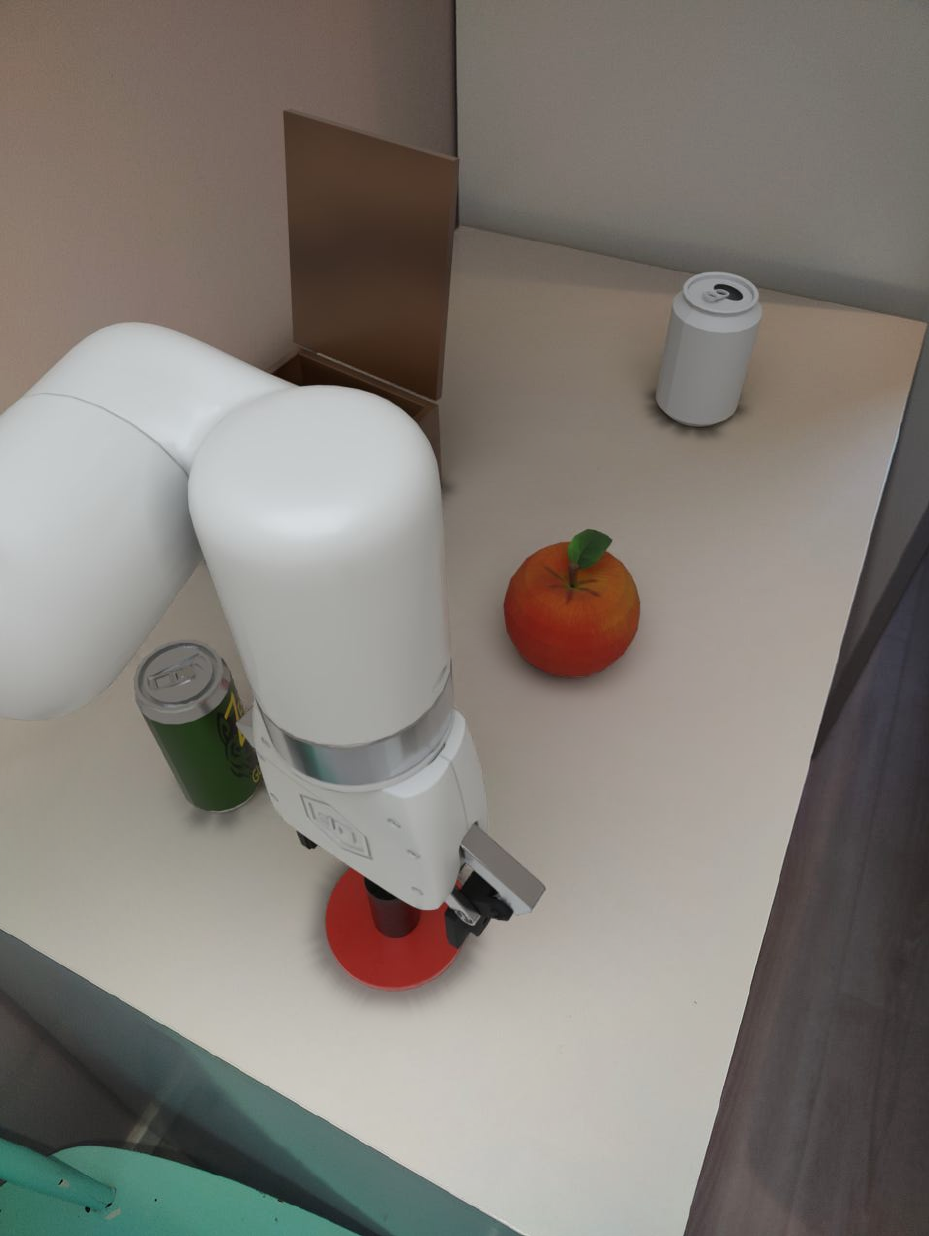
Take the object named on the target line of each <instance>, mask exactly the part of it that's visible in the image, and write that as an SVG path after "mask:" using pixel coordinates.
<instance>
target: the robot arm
mask: <svg viewBox="0 0 929 1236" xmlns="http://www.w3.org/2000/svg"><path fill="white" fill-rule="evenodd" d="M442 497H443V495H442V489H441V485H440V478H439V470H438V465H437V460H436V457H435V455H434V452H433V449H432V446H431V444H430V442H429V440H428V439H427V437H426V436H425V434H424V433H423V431H422V430H421V428H420V427H419V425H418V424H417V423H416V422H415V421H414V420H413V419H412V418H411V417H410V416H409V415H408V414H407V413H406V412H405V411H403V410H402V409H401V408H399V407H398V406H396V405H395V404H393V403H392V402H390V401H389V400H387V399H384V398H382V397H380V396H378V395H375V394H373V393H369V392H366V391H362V390H359V389H354V388H347V387H341V386H329V385H314V386H301V387H300V386H297V385H295V384H292V383H290V382H288V381H285V380H283V379H280V378H278V377H276V376H273V375H271V374H269V373H266V372H264V370H263V369H260V368H258V367H256V366H254V365H252V364H249V363H247V362H246V361H244V360H241V359H240V358H238V357H235V356H233V355H231V354H229V353H227V352H225V351H223V350H221V349H219V348H216V347H215V346H212V345H210V344H208V343H206V342H204V341H202V340H199V339H197V338H195V337H193V336H190V335H188V334H185V333H183V332H180V331H178V330H175V329H172V328H168V327H166V326H161V325H158V324H154V323H148V322H139V321H129V322H127V321H126V322H125V321H124V322H118V323H114V324H112V325H108V326H105V327H102V328H99V329H98V330H96V331H94V332H92V333H90V334H89V335H88V336H86V337H84V338H83V339H82V340H81V341H80V342H78V343H77V344H76V345H74V346H73V347H72V348H71V349H70V350H69V351H68V352H67V353H66V354H65V355H63V356H62V357H61V358H60V359H59V360H58V361H57V362H56V363H55V364H54V365H53V366H52V367H51V368H50V369H49V370H48V371H47V372H46V373H45V374H44V375H43V376H42V377H41V378H40V379H39V380H38V381H37V382H35V384H34V385H32V386H31V388H29V390H28V391H27V392H26V393H24V394H23V395H22V396H21V397H20V398H19V399H18V400H17V401H15V402H14V403H13V404H11V405H10V406H9V407H7V409H6V410H5V411H3V412H2V413H1V414H0V718H2V719H7V720H8V719H9V720H15V721H22V722H42V721H49V720H53V719H58V718H62V717H65V716H68V715H71V714H73V713H76V712H79V710H81V709H83V708H85V707H87V705H89V704H91V703H92V702H93V701H95V700H96V699H97V698H98V697H100V696H101V695H102V694H103V693H104V692H105V691H106V690H107V689H109V688H110V687H111V686H112V685H113V683H114V682H115V681H116V680H117V678H118V677H119V676H120V675H121V674H122V673H123V671H124V670H125V668H126V667H127V666H128V665H129V664H130V662H131V661H132V659H134V657H135V656H136V654H137V653H138V651H139V650H140V649H141V647H142V646H143V644H144V643H145V641H146V640H147V639H148V637H149V636H150V634H151V633H152V631H154V629H155V628H156V626H157V625H158V623H159V622H160V621H161V619H162V618H163V616H164V615H165V614H166V612H167V611H168V609H169V608H170V606H171V605H172V604H173V602H174V600H175V599H176V598H177V597H178V595H179V594H180V592H181V591H182V589H183V588H184V587H185V585H186V584H187V583H188V581H189V579H190V578H191V577H192V575H193V574H194V572H195V571H196V569H197V568H198V567H199V566H200V563H202V562H205V563H206V566H207V569H208V572H209V575H210V577H211V580H212V584H213V586H214V589H215V592H216V594H217V597H218V599H219V602H220V605H221V608H222V611H223V614H224V616H225V619H226V622H227V625H228V627H229V630H230V634H231V636H232V639H233V642H234V644H235V647H236V649H237V652H238V655H239V658H240V661H241V664H242V666H243V669H244V672H245V674H246V677H247V680H248V683H249V686H250V688H251V691H252V695H253V701H252V702H253V703H252V706H250V708H249V709H248V710H247V711H245V714H244V715H243V716H242V717H241V718H240V719H239V720H238V721H237V722H236V726H237V728H238V729H239V730H240V732H241V733H242V734H243V736H244V737H245V738H246V739H247V741H248V742H249V743H250V745H251V746H252V747H253V748H255V749H256V753H257V754H256V756H255V757H256V759H257V761H258V762H257V764H258V765H259V766H260V769H261V772H262V779H263V782H264V785H265V788H266V791H267V794H268V797H269V799H270V801H271V804H272V806H273V808H274V810H275V813H277V814H278V816H279V817H280V818H281V819H282V820H284V821H285V822H286V824H288V825H289V826H290V827H292V828H293V829H294V830H295V832H296V834H297V836H298V840H299V842H300V844H301V845H302V846H303V847H304V848H306V849H307V850H315V849H316V848H317V847H318V846H319V847H320V848H322V849H323V850H325V851H326V852H327V853H329V854H330V855H332V856H333V857H334V858H336V859H338V860H339V861H341V862H343V863H344V864H345V865H347V866H348V867H350V868H353V869H354V870H356V871H357V872H359V873H360V874H362V875H363V876H365V877H366V878H368V879H369V880H371V881H373V882H374V883H376V884H377V885H379V886H380V887H382V888H383V889H385V890H386V891H388V892H389V893H391V894H393V895H394V896H396V897H397V898H399V899H401V900H402V901H404V902H406V903H407V904H409V905H411V906H413V907H416V908H418V909H422V910H435V909H438V908H439V907H440V906H441V905H442V903H443V902H444V901H445V903H446V904H447V905H448V907H447V909H446V911H445V913H444V917H445V926H446V935H447V939H448V941H449V944H450V945H452V946H453V947H455V948H456V949H459V948H460V946H461V945H462V946H463V944H464V942H465V941H466V940H467V938H468V936H469V935H470V934H472V935H474V936H475V937H477V938H478V937H480V936H481V935H482V934H483V932H484V931H485V929H486V928H487V927H488V925H489V923H490V921H491V920H492V919H493V920H497V921H499V922H500V921H503V922H509V921H510V919H511V918H512V917H513V916H514V915H515V916H517V917H518V916H523V915H527V914H531V913H532V912H533V911H534V909H535V908H536V906H537V905H538V903H539V901H540V900H541V898H542V897H543V895H544V894H545V892H546V890H547V888H546V886H545V884H544V883H543V882H542V881H541V880H540V879H539V878H537V877H536V876H535V875H534V874H533V873H532V872H530V871H529V869H527V868H526V867H525V866H524V865H523V864H521V863H520V861H518V860H517V859H516V858H515V857H514V856H512V855H511V853H509V852H508V851H507V850H506V849H504V848H503V847H502V846H501V845H500V844H499V843H497V841H495V840H494V839H493V838H492V837H491V836H490V835H489V834H488V833H489V809H488V798H487V790H486V785H485V779H484V774H483V768H482V765H481V762H480V758H479V754H478V750H477V748H476V744H475V742H474V738H473V736H472V733H471V730H470V728H469V726H468V723H467V720H466V718H465V716H464V715H463V713H461V712H460V711H459V710H458V709H457V708H456V707H455V691H454V677H453V675H454V674H453V660H452V643H451V642H452V641H451V628H450V627H451V626H450V609H449V596H448V595H449V594H448V578H447V563H446V561H447V560H446V549H445V547H446V545H445V531H444V530H445V529H444V515H443V498H442ZM465 866H468V867H469V868H470V869H472V872H471V873H470V874H469V876H468V878H467V879H466V880H465V882H464V883H463V885H461V889H459V887H458V886H457V885H456V884H455V883H456V881H457V880H458V877H459V875H460V873H461V872H462V871H463V869H464V867H465Z"/></svg>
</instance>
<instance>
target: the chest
mask: <svg viewBox="0 0 929 1236" xmlns="http://www.w3.org/2000/svg"><path fill="white" fill-rule="evenodd" d="M263 371H264V372H266V373H269V374H271V375H273V376H276V377H278V378H280V379H283V380H285V381H288V382H290V383H292V384H295V385H297V386H300V387H301V386H314V385H329V386H341V387H347V388H354V389H359V390H362V391H366V392H369V393H373V394H375V395H378V396H380V397H382V398H384V399H387V400H389V401H390V402H392V403H393V404H395V405H396V406H398V407H399V408H401V409H402V410H403V411H405V412H406V413H407V414H408V415H409V416H410V417H411V418H412V419H413V420H414V421H415V422H416V423H417V424H418V425H419V427H420V428H421V430H422V431H423V433H424V434H425V436H426V437H427V439H428V440H429V442H430V444H431V446H432V449H433V452H434V455H435V457H436V460H437V465H438V470H439V478H440V485H441V490H442V489H443V480H442V479H443V478H442V454H441V430H440V429H441V428H440V427H441V426H440V407H439V404H438V403H435V402H433V401H430V400H429V399H425V398H423V397H421V396H418V395H416V394H413V393H411V392H409V391H406V390H405V389H404V390H403V389H401V388H399V387H396V386H394V385H392V384H389V383H386V382H384V381H382V380H379V379H377V378H376V377H373V376H370V375H369V374H368V375H367V374H365V373H363V372H361V371H358V370H356V369H354V368H351V367H349V366H346V365H345V364H343V363H342V364H341V363H339V362H337V361H334V360H332V359H331V358H330V359H329V358H327V357H325V356H322V355H320V354H318V353H315V352H314V351H313V352H312V351H310V350H308V349H305V348H304V347H301V346H299V345H297V346H295V347H294V348H293V349H292V350H289V351H288V352H287V353H286V354H284V355H283V356H282V357H280V358H279V359H278V360H276V361H275V362H274V363H272V364H271V365H269V366H267V368H266V369H264V370H263Z"/></svg>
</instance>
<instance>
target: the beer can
mask: <svg viewBox="0 0 929 1236" xmlns="http://www.w3.org/2000/svg"><path fill="white" fill-rule="evenodd" d="M133 689H134V702H135V703H136V705H137V707H138V709H139V711H140V713H141V715H142V716H143V718H144V720H145V723H146V724H147V726H148V728H149V731H150V732H151V734H152V736H153V738H154V740H155V742H156V744H157V745H158V747H159V749H160V751H161V753H162V755H163V757H164V759H165V761H166V763H167V765H168V767H169V769H170V771H171V772H172V774H173V776H174V778H175V780H176V782H177V784H178V786H179V788H180V790H181V791H182V793H183V795H184V797H185V799H186V800H187V802H189V803H190V804H191V805H193V806H194V807H195V808H198V809H200V810H202V811H206V812H209V813H226V812H230V811H235V810H236V809H238V808H240V807H242V806H244V805H245V804H247V803H248V802H249V801H250V799H252V798H253V797H254V796H255V794H256V792H257V791H258V789H259V787H260V784H261V783H262V779H263V775H262V772H261V769H260V766H259V765H258V764H257V762H258V761H257V759H256V757H255V756H256V754H257V753H256V749H255V748H253V747H252V746H251V745H250V743H249V742H248V741H247V739H246V738H245V737H244V736H243V734H242V733H241V732H240V730H239V729H238V728H237V726H236V722H237V721H238V720H239V719H240V718H241V717H242V716H243V715H244V714H245V713H246V711H245V709H244V706H243V703H242V700H241V697H240V695H239V692H238V689H237V687H236V683H235V681H234V679H233V675H232V672H231V670H230V668H229V666H228V664H227V662H226V660H225V659H224V658H223V657H222V656H221V655H220V654H219V652H218V651H217V649H215V648H214V647H212V646H211V645H209V644H208V643H206V642H203V641H200V640H196V639H179V640H173V641H169V642H166V643H164V644H162V645H160V646H158V647H156V648H154V649H153V650H152V651H151V652H149V653H148V654H147V655H145V656H144V658H143V659H142V660H141V661H140V663H139V665H137V667H136V670H135V672H134V676H133Z"/></svg>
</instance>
